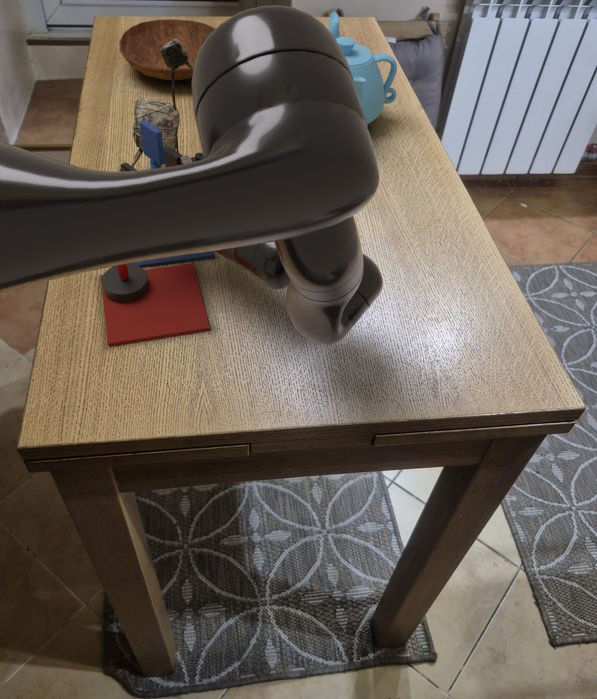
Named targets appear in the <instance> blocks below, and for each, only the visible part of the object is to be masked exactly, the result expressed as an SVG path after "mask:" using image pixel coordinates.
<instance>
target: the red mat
mask: <svg viewBox="0 0 597 699" xmlns="http://www.w3.org/2000/svg"><path fill="white" fill-rule="evenodd" d="M144 270H145V271H146V273H147V276H148V282H149V289H148V291H147V293H146V294H145V296H143V297H142V298H141V299H139V300H137V301H134V302H130V303H117V302H114V301H112V300H110V299H108V298H107V297H106V295H105V294H104V291H103V286H102V282H101V280H102V276H103V274H102V275H100V276H99V277H100V283H101V284H100V285H101V293H102V295H101V296H102V304H103V314H104V320H105V321H104V322H105V330H106V340H107V346H108V347H113V346H120V345H126V344H132V343H139V342H140V343H141V342H146V341H152V340H158V339H164V338H171V337H177V336H183V335H188V334H195V333H196V334H197V333H203V332H208V331H210V330H211V326H210V322H209V318H208V315H207V311H206V307H205V303H204V298H203V295H202V292H201V288H200V284H199V280H198V276H197V271H196V267H195V264H194V263H193V262H190V263H184V264H175V265H170V266H168V265H167V266H162V267H154V268H146V269H144Z"/></svg>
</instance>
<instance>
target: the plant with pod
mask: <svg viewBox="0 0 597 699" xmlns="http://www.w3.org/2000/svg"><path fill="white" fill-rule="evenodd" d="M160 52H161V55H162V57H163V58H164V61H165V63H166V65H167V66H168V68H171V80H170V81H171V99H172V103H171V102H167V101H164V100H158V99H153V98H150V97H142V98H138V99H137V100H135V104H134V108H133V114H134V118H133V121H134V122H133V125H132V130H133V132H132V138H133V141H134V143H135V146H136V148H138V150H137V151H136V153H135V155H134V156H133V160H132V162H131V163H130V165H131V166H132V167H134V168H135V165H136V164H137V162H138V161H139V159H140V157H141V156H142V155H143V154H144V152H143V145H142V138H141V130H140V123H139V122H140V121H143V120H145V121H147V122H148V123H150V124H151V125H153V126H154V127H156V128H158V129H159V130H161V131H162V139H163V146H166V147H168V148H171V149H174V150H175V151H177V152H178V153H180V151H179V150H180V149H179V140H178V138H179V136H178V133H179V126H180V124H181V120H180V111H179V109H178V107H177V102H176V91H175V90H176V89H175V88H176V87H175V83H176V80H175V70H176V69H178V68H179V67H180V66H183V64H185V65H187V66H188V67H189V68H192V66H191V65H190V63H189V62H188V59H189V57H188V54H187V52H186V50H185V49H184V48H183V45H182V44H181V43H180V42H179V40H177V39H174V40H173V41H171V42H169V43H167V44H165V45H164V46H163V47H162V48H161V51H160ZM138 95H139V93H136V94H135V96H138ZM166 167H168V166H167V165H165V164H163V165H161V166H160V168H166Z"/></svg>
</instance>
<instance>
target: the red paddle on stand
mask: <svg viewBox="0 0 597 699" xmlns="http://www.w3.org/2000/svg"><path fill="white" fill-rule="evenodd" d="M145 270H146V269H144V267H143V268H141V267H140V266H137V265H134V264H124V265H119V266H113V267H109V268H107V269H106V270H105V271H104V273H103V274H102V275H103V276H102V280H101V279H100V283H101V282H102V286H103V291H104V294H105V295H106V297H107V298H108V299H110V300H112V301H114V302H117V303H130V302H134V301H137V300H139V299H141V298H142V297H143V296H145V294H146V293H147V291H148V289H149V282H148V276H147V273H146V271H145ZM102 286H101V287H102Z"/></svg>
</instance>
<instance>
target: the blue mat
mask: <svg viewBox="0 0 597 699" xmlns="http://www.w3.org/2000/svg"><path fill="white" fill-rule="evenodd" d="M209 259H215V252H214V251H209V252H202V253H195V254H188V255H181V256H174V257H167V258H160V259H154V260H147V261H141V262H135V263H129V264H134V265H137V266H140V267H141V268H143V269H144V268H149V267H156V266H164V265H173V264H180V263H187V262H188V263H189V262H194V261H195V262H196V261H203V260H209Z"/></svg>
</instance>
